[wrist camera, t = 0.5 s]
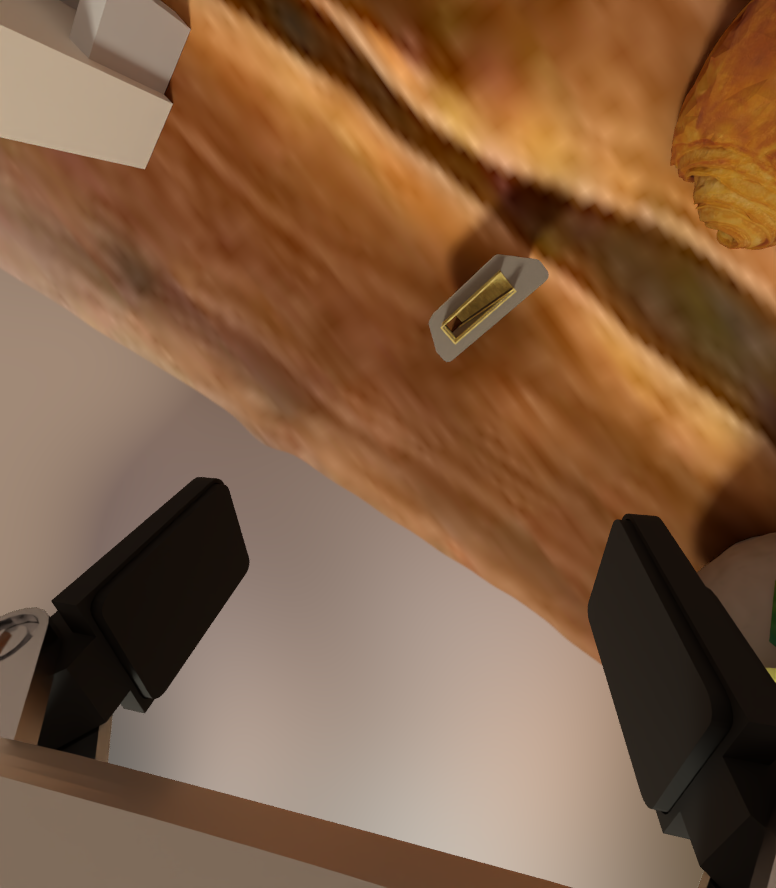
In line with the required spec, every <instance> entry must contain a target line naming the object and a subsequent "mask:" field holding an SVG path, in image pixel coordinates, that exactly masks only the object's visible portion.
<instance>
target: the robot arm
mask: <svg viewBox="0 0 776 888" xmlns="http://www.w3.org/2000/svg"><path fill="white" fill-rule="evenodd" d="M248 567H249V557H248V553H247V550H246V546H245V543H244V539H243V536H242V533H241V529H240V526H239V522H238V519H237V515H236V512H235V509H234V505H233V502H232V499H231V495H230V491H229V489H228V487H227V486H226V485H224V483H223V482H222V481H221V480H220V479H217V478H205V477H197V478H195V479H193V480H192V481H191V482H190V483H189V484H187V485H186V486H185V487H184V488H183V489H182V490H181V491H179V492H178V493H177V494H176V495H175V496H173V497H172V498H171V499H170V500H169V501H168V502H166V503H165V504H164V505H163V506H162V507H161V508H159V509H158V510H157V511H156V512H155V513H153V514H152V515H151V516H150V517H149V518H148V519H146V520H145V521H144V522H143V523H142V524H141V525H140V526H138V527H137V528H136V529H135V530H134V531H132V532H131V533H130V534H129V535H128V536H127V537H125V538H124V539H123V540H122V541H121V542H120V543H118V544H117V545H116V546H115V547H114V548H112V549H111V550H110V551H109V552H108V553H107V554H106V555H104V556H103V557H102V558H101V559H100V560H99V561H98V562H96V563H95V564H94V565H93V566H91V567H90V568H89V569H88V570H87V571H86V572H85V573H83V574H82V575H81V576H80V577H79V578H77V579H76V580H75V581H74V582H73V583H72V584H70V585H69V586H68V587H67V588H66V589H64V590H63V591H62V592H61V593H60V594H59V595H57V596H56V597H55V598H54V599H53V600H52V603H53V604H54V606H55V607H56V609H57V610H58V611H57V612H56V613H55V614H54V615H52V616H51V617H50V616H49V615H48V613H47V612H46V611H45V610H43V609H40V608H37V607H36V608H24V609H20V610H16V611H12V612H10V613H8V614H5V615H3V616H0V888H571V887H568V886H564V885H561V884H558V883H554V882H551V881H547V880H544V879H540V878H536V877H532V876H529V875H525V874H522V873H518V872H514V871H510V870H506V869H503V868H499V867H496V866H492V865H488V864H485V863H481V862H477V861H474V860H470V859H466V858H463V857H459V856H455V855H451V854H448V853H444V852H441V851H437V850H433V849H430V848H426V847H422V846H418V845H415V844H411V843H408V842H404V841H400V840H397V839H393V838H389V837H386V836H382V835H378V834H375V833H371V832H367V831H363V830H360V829H356V828H352V827H348V826H345V825H341V824H337V823H334V822H330V821H325V820H322V819H318V818H315V817H311V816H307V815H303V814H300V813H296V812H292V811H288V810H285V809H281V808H277V807H274V806H270V805H266V804H262V803H258V802H255V801H251V800H247V799H243V798H240V797H236V796H232V795H229V794H225V793H221V792H217V791H214V790H210V789H206V788H202V787H198V786H195V785H191V784H187V783H183V782H179V781H175V780H172V779H168V778H163V777H160V776H156V775H152V774H149V773H145V772H141V771H137V770H133V769H129V768H126V767H122V766H118V765H114V764H110V763H108V758H109V748H110V737H111V728H112V716H113V713H114V711H115V710H116V709H117V707H118V706H119V705H120V704H121V705H122V706H123V708H124V709H128V710H133V711H137V712H141V713H145V712H146V711H147V709H148V708H149V707H150V705H151V704H152V702H153V701H154V699H156V698H159V697H160V696H161V695H162V694H163V693H164V692H165V691H166V690H167V688H168V687H169V685H170V684H171V682H172V681H173V679H174V678H175V676H176V675H177V674H178V672H179V671H180V669H181V668H182V666H183V665H184V663H185V662H186V660H187V659H188V657H189V656H190V654H191V653H192V651H193V650H194V649H195V647H196V646H197V644H198V643H199V641H200V640H201V638H202V637H203V636H204V634H205V633H206V631H207V629H208V628H209V627H210V625H211V623H212V622H213V621H214V619H215V618H216V617H217V615H218V614H219V612H220V611H221V609H222V608H223V606H224V605H225V603H226V602H227V600H228V599H229V597H230V596H231V595H232V593H233V592H234V590H235V589H236V587H237V586H238V584H239V583H240V581H241V580H242V579H243V577H244V576H245V574H246V572H247V570H248ZM588 618H589V622H590V625H591V629H592V632H593V635H594V639H595V642H596V645H597V649H598V652H599V655H600V659H601V662H602V665H603V669H604V672H605V675H606V679H607V682H608V685H609V689H610V692H611V695H612V699H613V702H614V705H615V709H616V712H617V715H618V719H619V722H620V725H621V729H622V732H623V735H624V738H625V742H626V745H627V749H628V752H629V755H630V759H631V762H632V765H633V768H634V772H635V775H636V779H637V782H638V785H639V789H640V792H641V795H642V797H643V800H644V801H645V804H646V805H647V806H648V807H649V808H650V809H654V810H656V812H657V816H658V819H659V822H660V825H661V828H662V831H663V833H665V834H669V835H674V836H678V837H682V838H687V839H690V840H691V843H692V846H693V849H694V851H695V854H696V857H697V860H698V862H699V865H700V867H701V868H702V869H703V870H704V871H703V874H702V877H701V880H700V882H699V885H698V888H776V683H775V681H774V680H773V678H772V677H771V675H770V674H769V673H768V671H767V670H766V668H765V667H764V665H763V664H762V662H761V661H760V659H759V658H758V656H757V655H756V653H755V652H754V650H753V649H752V647H751V646H750V644H749V643H748V642H747V640H746V639H745V637H744V636H743V634H742V633H741V631H740V630H739V628H738V627H737V625H736V624H735V622H734V621H733V619H732V618H731V616H730V615H729V614H728V612H727V611H726V609H725V608H724V606H723V605H722V603H721V602H720V600H719V599H718V597H717V596H716V595H715V594H714V593H713V591H712V590H711V589H709V588H708V587H706V586H705V584H704V583H703V581H702V580H701V578H700V577H699V575H698V574H697V572H696V571H695V569H694V568H693V566H692V565H691V563H690V562H689V560H688V559H687V557H686V556H685V554H684V553H683V551H682V550H681V548H680V547H679V545H678V544H677V542H676V541H675V539H674V538H673V536H672V535H671V533H670V532H669V530H668V529H667V527H666V526H665V524H664V523H663V521H662V520H661V519H660V518H659V517H657V516H649V515H637V514H625V515H624V517H623V518H622V520H615V521H614V522H613V525H612V528H611V531H610V534H609V538H608V541H607V544H606V547H605V551H604V554H603V557H602V560H601V564H600V567H599V570H598V573H597V577H596V580H595V583H594V586H593V590H592V593H591V596H590V599H589V603H588Z"/></svg>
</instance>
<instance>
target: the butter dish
mask: <svg viewBox="0 0 776 888" xmlns="http://www.w3.org/2000/svg"><path fill="white" fill-rule="evenodd" d="M499 271H501V272H502V273H501V272H499ZM497 273H498V274H497ZM495 275H496V276H495ZM503 275H504V276H505V277H506V278H505V277H504V276H503ZM548 275H549V274H548V271H547V270H546V268H545V267H544V266H543V264H542V263H541V262H540V261H539V260H537V259H532V258H524V257H516V256H508V255H501V254H497V255H495V256H494V257H492V258H491V259H490V260H489V261H488V262H487V263H486V264H485V265H484V266H483V267H482V268H481V269H480V270H479V271H478V272H477V273H476V274H475V275H473V276H472V277H471V278H470V279H469V280H468V281H467V282H466V283H465V284H464V285H463V286H462V287H461V288H460V289H459V290H458V291H457V292H456V293H454V294H453V295H452V296H451V297H450V298H449V299H448V300H447V301H446V302H445V303H444V304H443V305H442V306H441V307H440V308H439V309H438V310H437V311H435V312H434V313H433V315H432V317H431V319H430V321H429V327H430V330H431V334H432V337H433V341H434V345H435V348H436V351H437V353H438V354H439V355H440V356H441V357H442V359H443V360H444V361H446V362H450V361H452V360H453V359H454V358H455V357H457V356H458V355H459V354H460V353H461V352H462V351H464V350H465V349H466V348H467V347H468V346H470V345H471V344H472V343H473V342H474V341H475V340H477V339H478V338H479V337H480V336H481V335H483V334H484V333H485V332H486V331H487V330H488V329H490V328H491V327H492V326H493V325H494V324H496V323H497V322H498V321H499V320H500V319H501V318H503V317H504V316H505V315H506V314H507V313H509V312H510V311H511V310H512V309H513V308H514V307H516V306H517V305H518V304H519V303H520V302H522V301H523V300H524V299H525V298H526V297H527V296H529V295H530V294H531V293H532V292H533V291H535V290H536V289H537V288H538V287H539V286H540V285H542V284H543V283H544V282H545V281H546V280H547V279H548ZM493 276H494V277H493ZM491 278H492V279H491ZM507 280H508V281H509V282H508V281H507ZM455 316H457V317H458V318H459V319H460V321H461V322H463V321H464V320H466V319H467V318H468V319H467V320H466V321H465V322H464V323H462V324H461V325H460V326H459V327H458V328H457V329H456V330H455V331H453V332H452V331H451V330H450V329H449V328H448V327H447V326H446V324H447V323H448V322H449V321H450V320H451V319H453V318H454V317H455ZM444 321H445V322H444Z"/></svg>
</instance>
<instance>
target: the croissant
mask: <svg viewBox="0 0 776 888" xmlns="http://www.w3.org/2000/svg"><path fill="white" fill-rule="evenodd" d="M672 144H673V145H672V149H671V152H672V157H671V162H670V164H671V165H676V168H678V174H679V177H681V178H683V180H684V181H688V182H695V189H694V193H693V199H694V204H698V207H697V208H696V209H698V213H699V219H700V221H703V222H705V226H706V227H708V228H711V229H716V230H718V232H717V240H718V242H719V243H720V244H722V245H723V246H725V247H727V248H729V249H739V248H746V249H751V250H756V249H764V248H767V247H772V246H775V245H776V0H751V1H750V2H749V3H748V4H747V5H746V6H745V7H744V9H743V10H742V11H741V12H740V13H739V14H738V15H737V16H736V18H735V19H734V20H733V22H732V23H731V24H730V26H729V27H728V28H727V29H726V30H725V32H724V33H723V35H722V36H721V37H720V39H719V40H718V42H717V44H716V45H715V47H714V48H713V50H712V51H711V53H710V54H709V56H708V58H707V60H706V62H705V63H704V65H703V67H702V69H701V71H700V73H699V75H698V77H697V79H696V81H695V84H694V85H693V87H692V88H691V90H690V91H689V93H688V94H687V95H686V98H685V100H684V103H683V105H682V108H681V110H680V113H679V117H678V122H677V125H676V127H675V131H674V137H673V143H672Z"/></svg>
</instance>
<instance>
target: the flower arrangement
mask: <svg viewBox="0 0 776 888" xmlns="http://www.w3.org/2000/svg"><path fill="white" fill-rule="evenodd" d="M697 574H698V575H699V577H700V578H701V580H702V581H703V583H704V584H705V586H706V587H708V588H709V589H711V590H712V591H713V593H714V594H715V595H716V596H717V597H718V599H719V600H720V602H721V603H722V605H723V606H724V608H725V609H726V611H727V612H728V614H729V615H730V616H731V618H732V619H733V621H734V622H735V624H736V625H737V627H738V628H739V630H740V631H741V633H742V634H743V636H744V637H745V639H746V640H747V642H748V643H749V644H750V646H751V647H752V649H753V650H754V652H755V653H756V655H757V656H758V658H759V659H760V661H761V662H762V664H763V665H764V667H765V668H766V670H767V671H768V673H769V674H770V675H771V677H772V678H773V680H774V681H775V683H776V532H775V533H769V534H766V535H763V536H757V537H751V538H749V539H746V540H743V541H741V542H738V543H735V544H734V545H732V546H731V547H730V548H728V549H727V550H726V551H724V552H723V553H722V554H721V555H720V556H718V557H717V558H716V559H714V560H713V561H711V562H710V563H709V564H707V565H706V566H705V567H703V568H702V569H701V570H700V571H698V572H697Z"/></svg>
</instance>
